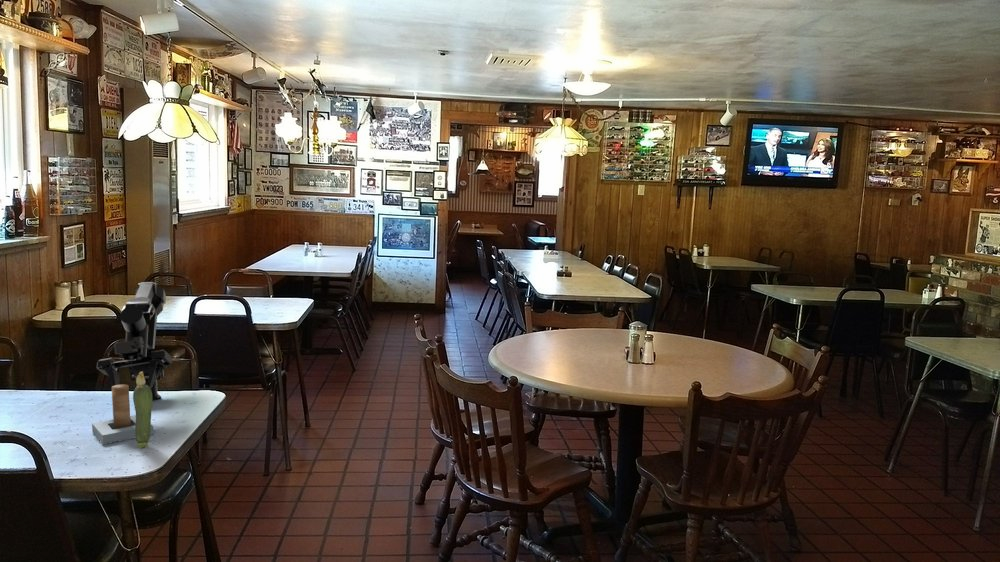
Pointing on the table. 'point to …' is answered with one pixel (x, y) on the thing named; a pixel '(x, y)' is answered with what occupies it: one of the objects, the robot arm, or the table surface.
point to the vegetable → (142, 411)
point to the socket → (114, 431)
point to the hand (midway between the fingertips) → (132, 390)
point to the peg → (121, 406)
